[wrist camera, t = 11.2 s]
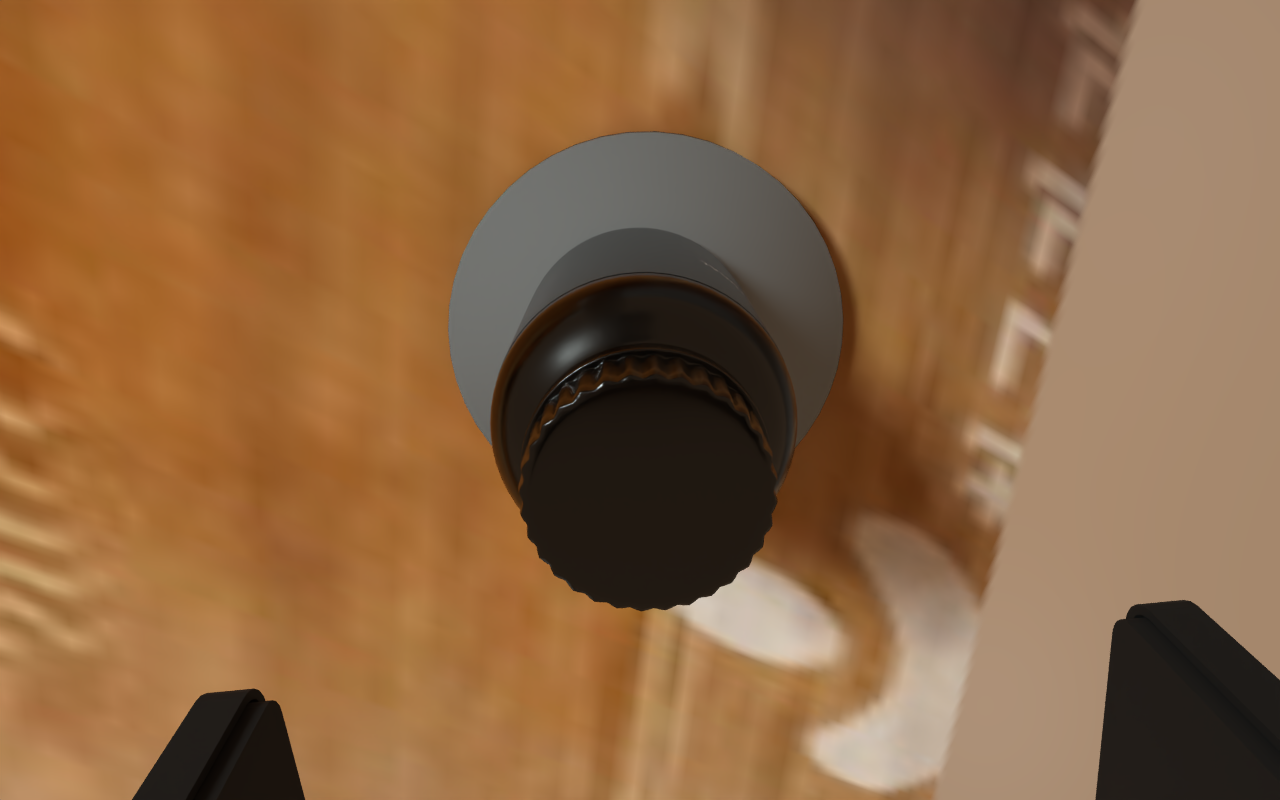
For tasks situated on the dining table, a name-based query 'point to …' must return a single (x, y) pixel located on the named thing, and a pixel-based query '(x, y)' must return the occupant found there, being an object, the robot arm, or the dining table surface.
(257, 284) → the dining table surface
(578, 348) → the supplement bottle
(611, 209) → the coaster
